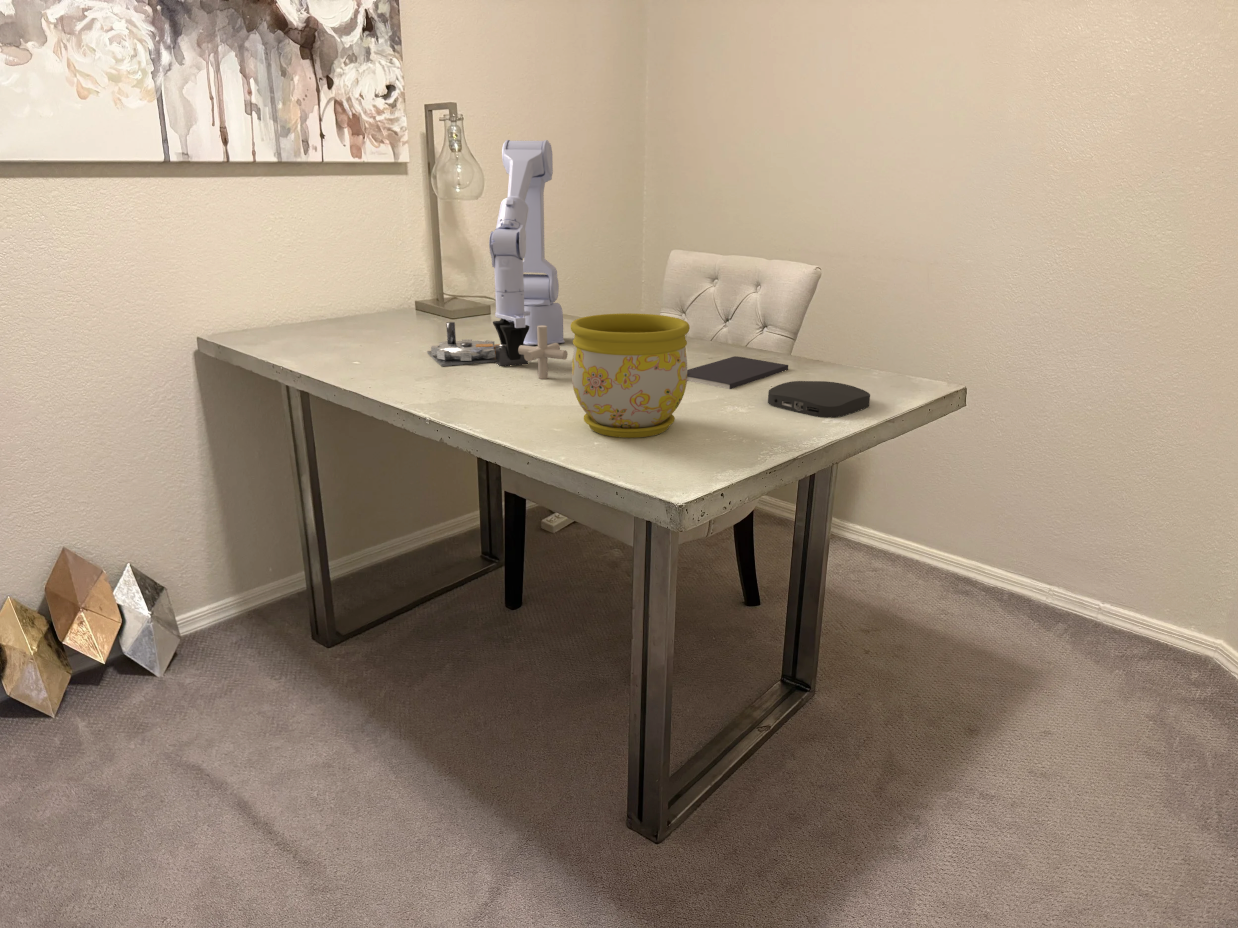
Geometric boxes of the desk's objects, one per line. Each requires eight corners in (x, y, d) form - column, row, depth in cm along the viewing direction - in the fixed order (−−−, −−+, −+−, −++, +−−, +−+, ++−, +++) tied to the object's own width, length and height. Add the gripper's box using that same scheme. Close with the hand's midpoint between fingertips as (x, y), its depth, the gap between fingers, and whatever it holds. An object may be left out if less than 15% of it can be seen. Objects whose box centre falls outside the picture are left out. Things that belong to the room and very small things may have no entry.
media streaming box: (877, 406, 147) (879, 389, 146) (830, 422, 138) (832, 404, 137) (806, 390, 157) (807, 375, 156) (758, 405, 148) (759, 388, 147)
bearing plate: (490, 348, 190) (490, 346, 190) (508, 361, 178) (507, 358, 178) (427, 353, 185) (427, 351, 185) (441, 366, 173) (441, 364, 173)
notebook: (729, 392, 157) (788, 372, 172) (730, 383, 156) (788, 364, 172) (674, 381, 165) (735, 363, 180) (675, 373, 164) (735, 355, 179)
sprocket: (467, 344, 191) (466, 316, 189) (515, 352, 183) (514, 324, 181) (417, 354, 180) (415, 326, 178) (465, 364, 172) (464, 334, 170)
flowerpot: (680, 410, 143) (683, 313, 137) (692, 443, 126) (696, 333, 120) (572, 411, 142) (571, 312, 137) (570, 444, 125) (569, 333, 120)
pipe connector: (507, 380, 162) (505, 328, 159) (535, 370, 170) (534, 320, 167) (551, 386, 158) (550, 333, 154) (578, 375, 166) (578, 324, 163)
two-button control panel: (524, 362, 178) (523, 341, 177) (528, 365, 175) (527, 344, 174) (496, 364, 176) (495, 343, 174) (500, 367, 173) (499, 346, 172)
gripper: (539, 294, 166) (541, 362, 170) (518, 285, 178) (520, 349, 183) (504, 296, 163) (507, 365, 168) (485, 286, 176) (488, 351, 180)
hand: (511, 357), depth 175 cm, fingers open, 4 cm apart
